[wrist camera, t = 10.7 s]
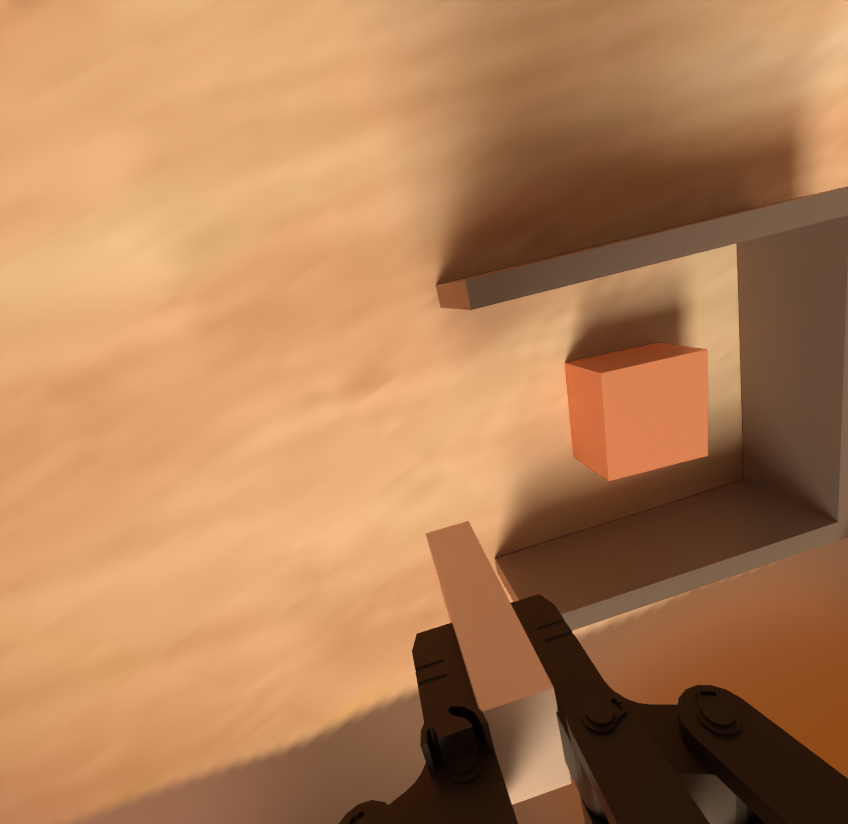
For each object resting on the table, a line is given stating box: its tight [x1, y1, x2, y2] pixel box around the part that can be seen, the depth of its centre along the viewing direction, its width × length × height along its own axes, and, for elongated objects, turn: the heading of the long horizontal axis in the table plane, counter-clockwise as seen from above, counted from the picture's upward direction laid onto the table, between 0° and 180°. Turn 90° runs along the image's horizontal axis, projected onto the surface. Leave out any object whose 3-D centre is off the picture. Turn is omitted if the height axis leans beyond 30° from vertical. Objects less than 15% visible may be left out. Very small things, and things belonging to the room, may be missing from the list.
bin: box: [436, 187, 848, 631], centre depth 24 cm, size 19×18×6 cm
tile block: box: [565, 343, 708, 481], centre depth 25 cm, size 6×6×4 cm
